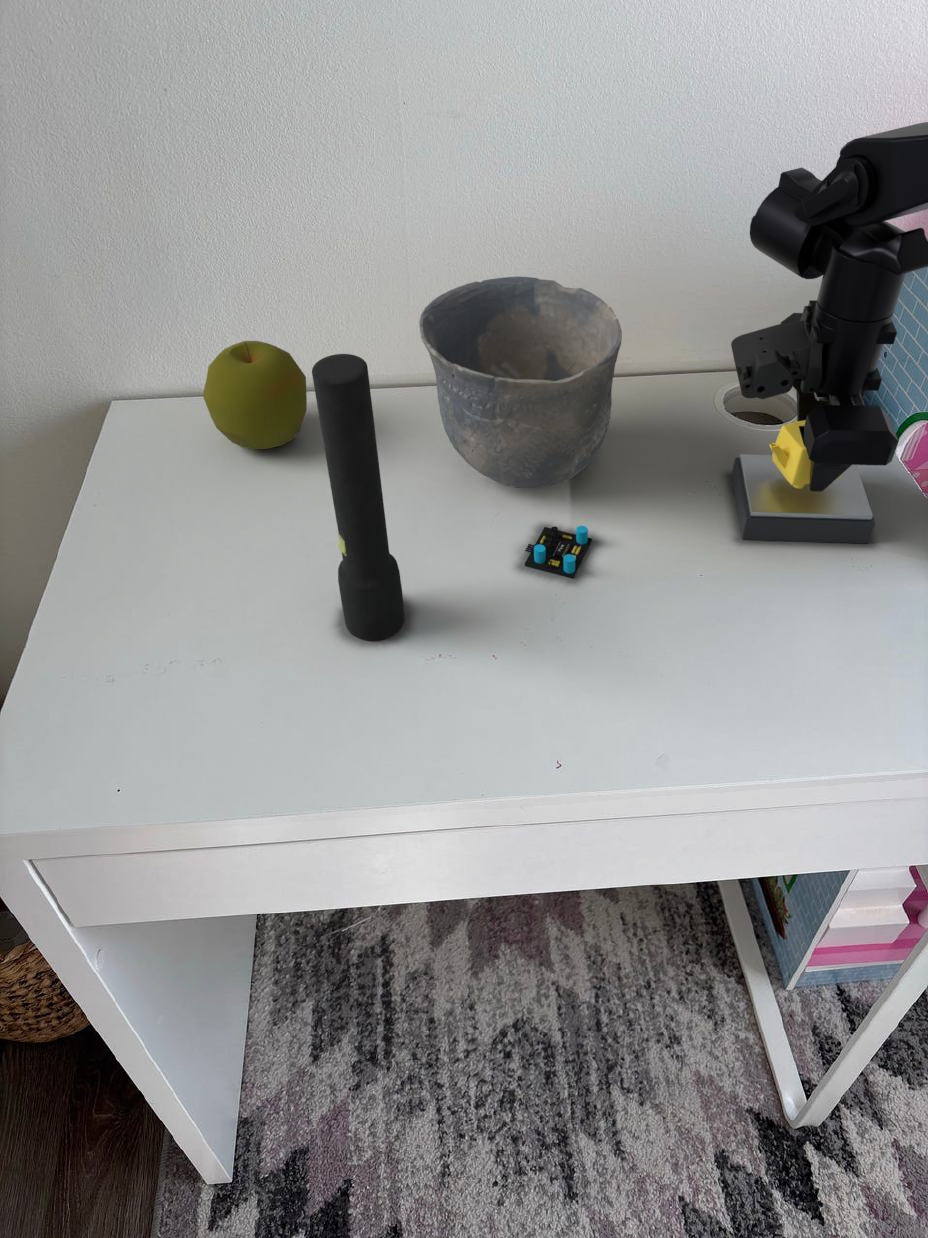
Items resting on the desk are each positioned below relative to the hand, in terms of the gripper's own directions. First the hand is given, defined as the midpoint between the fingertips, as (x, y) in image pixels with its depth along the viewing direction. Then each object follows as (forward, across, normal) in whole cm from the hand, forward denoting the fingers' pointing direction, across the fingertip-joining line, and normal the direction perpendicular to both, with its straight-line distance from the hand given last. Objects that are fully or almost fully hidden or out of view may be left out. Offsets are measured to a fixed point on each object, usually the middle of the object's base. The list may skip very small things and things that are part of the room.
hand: (809, 467), depth 85 cm
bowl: (+5, -6, -26) cm, 27 cm away
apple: (+5, -9, -52) cm, 53 cm away
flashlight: (+5, +16, -37) cm, 41 cm away
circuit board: (+5, +7, -22) cm, 24 cm away
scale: (+5, 0, 0) cm, 5 cm away
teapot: (+1, 0, 0) cm, 1 cm away
